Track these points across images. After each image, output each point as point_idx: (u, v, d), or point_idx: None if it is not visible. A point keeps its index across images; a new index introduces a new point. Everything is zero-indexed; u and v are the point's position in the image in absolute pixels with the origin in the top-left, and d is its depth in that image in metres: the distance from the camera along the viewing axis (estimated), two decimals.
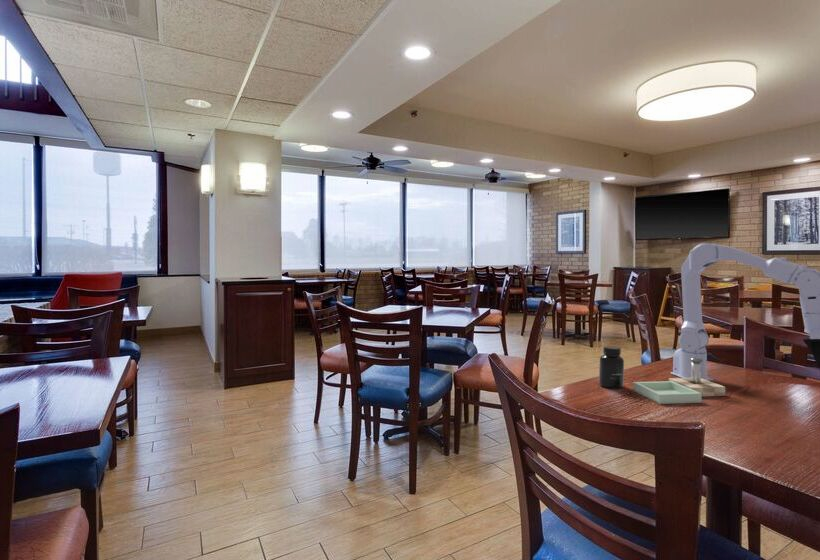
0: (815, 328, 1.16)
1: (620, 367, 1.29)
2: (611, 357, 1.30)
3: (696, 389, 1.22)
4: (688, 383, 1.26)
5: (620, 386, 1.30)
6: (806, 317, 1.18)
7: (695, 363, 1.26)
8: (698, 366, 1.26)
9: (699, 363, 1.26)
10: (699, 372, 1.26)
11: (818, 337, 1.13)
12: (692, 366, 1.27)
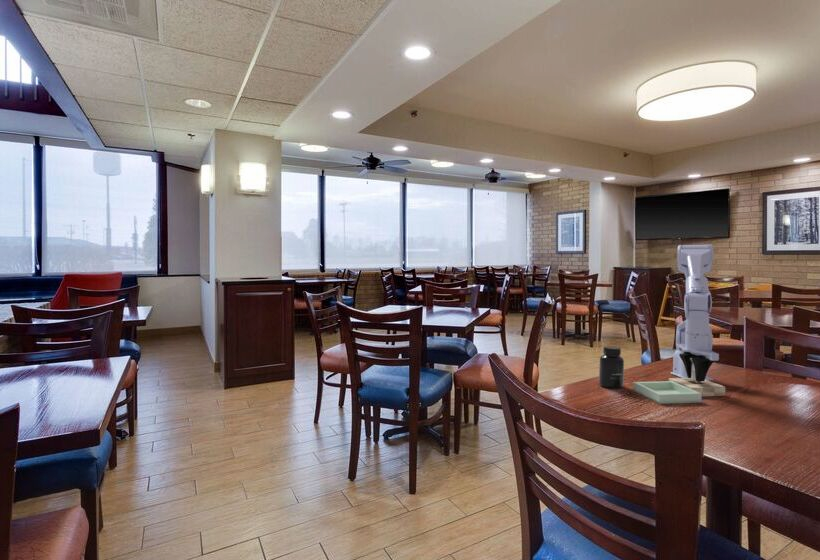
0: None
1: (620, 367, 1.29)
2: (611, 357, 1.30)
3: (696, 389, 1.22)
4: (688, 383, 1.26)
5: (620, 386, 1.30)
6: None
7: None
8: None
9: None
10: None
11: None
12: (692, 366, 1.27)
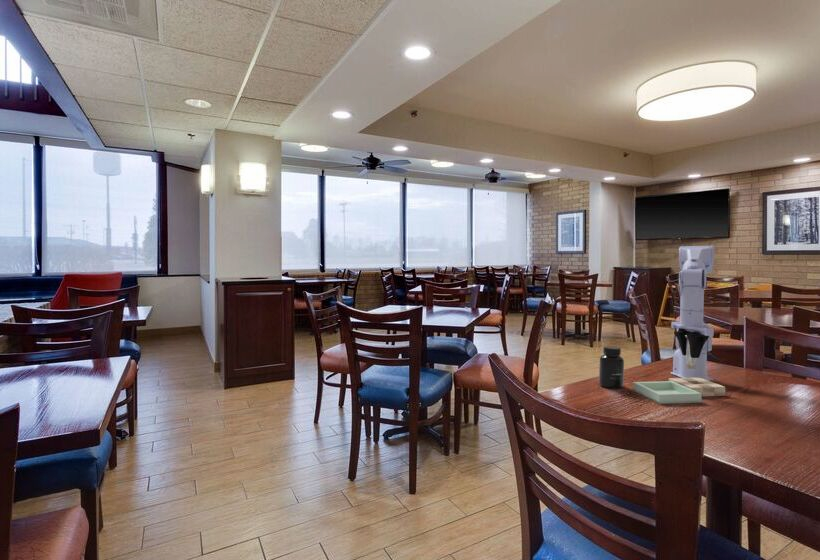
0: None
1: (620, 367, 1.29)
2: (611, 357, 1.30)
3: (696, 389, 1.22)
4: (688, 383, 1.26)
5: (620, 386, 1.30)
6: None
7: None
8: None
9: None
10: None
11: None
12: (687, 343, 1.26)
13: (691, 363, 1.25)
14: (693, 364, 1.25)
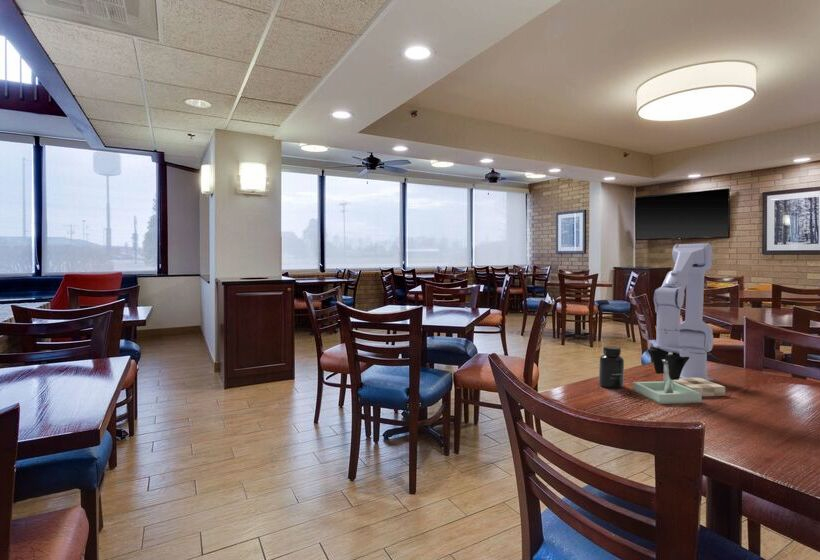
0: None
1: (620, 367, 1.29)
2: (611, 357, 1.30)
3: (696, 389, 1.22)
4: (688, 383, 1.26)
5: (620, 386, 1.30)
6: None
7: (667, 364, 1.22)
8: None
9: None
10: None
11: None
12: (664, 367, 1.23)
13: (669, 388, 1.23)
14: (671, 389, 1.23)
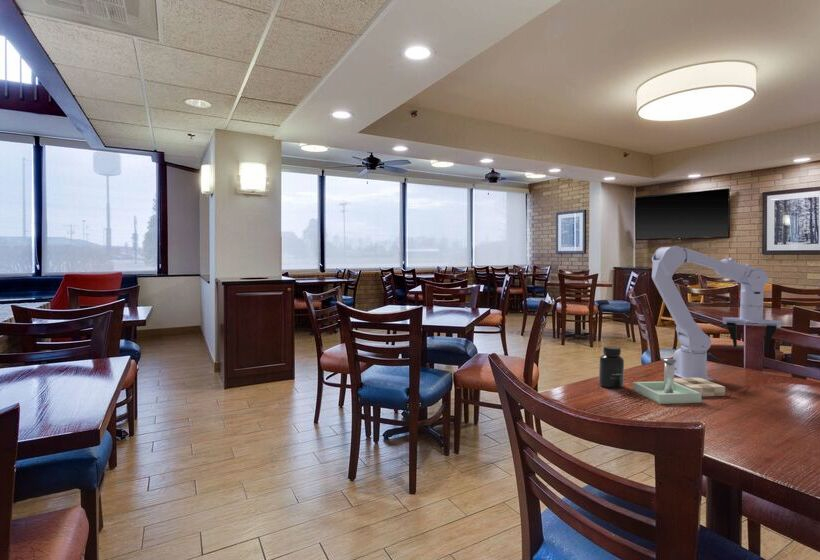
0: (740, 317, 1.39)
1: (620, 367, 1.29)
2: (611, 357, 1.30)
3: (696, 389, 1.22)
4: (688, 383, 1.26)
5: (620, 386, 1.30)
6: None
7: (668, 364, 1.23)
8: (671, 367, 1.22)
9: (672, 364, 1.22)
10: (672, 374, 1.22)
11: None
12: (665, 367, 1.23)
13: (669, 388, 1.23)
14: (671, 389, 1.23)
